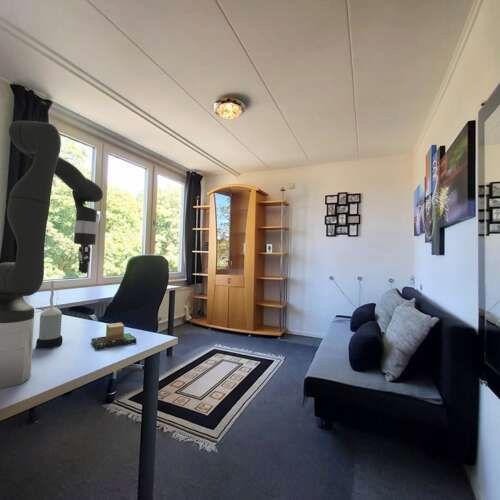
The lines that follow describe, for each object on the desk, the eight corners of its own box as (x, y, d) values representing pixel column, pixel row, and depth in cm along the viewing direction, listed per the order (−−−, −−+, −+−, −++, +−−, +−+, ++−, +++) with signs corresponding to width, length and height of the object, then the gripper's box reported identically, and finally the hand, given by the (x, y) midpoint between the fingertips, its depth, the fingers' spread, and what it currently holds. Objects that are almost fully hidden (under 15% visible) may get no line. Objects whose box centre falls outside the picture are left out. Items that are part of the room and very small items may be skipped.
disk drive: (96, 353, 99) (136, 345, 109) (96, 345, 99) (137, 338, 109) (90, 345, 107) (129, 338, 117) (91, 338, 107) (129, 332, 117)
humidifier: (40, 342, 105) (44, 279, 105) (65, 341, 108) (68, 279, 108) (32, 350, 97) (36, 282, 98) (58, 348, 100) (62, 282, 101)
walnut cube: (123, 339, 108) (124, 325, 108) (108, 341, 105) (109, 327, 105) (120, 335, 112) (121, 322, 113) (105, 337, 109) (106, 324, 109)
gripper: (98, 232, 105) (96, 273, 105) (93, 234, 116) (91, 271, 116) (76, 231, 101) (73, 273, 100) (72, 232, 112) (70, 271, 111)
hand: (82, 272), depth 108 cm, fingers open, 8 cm apart
